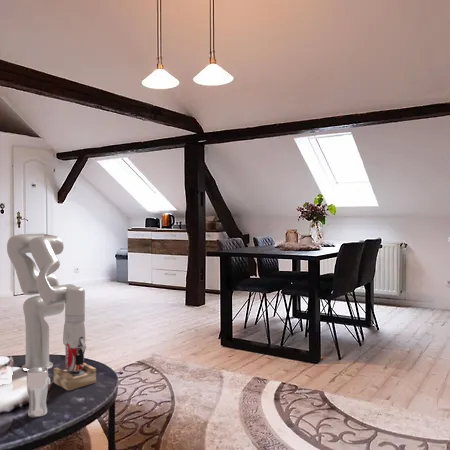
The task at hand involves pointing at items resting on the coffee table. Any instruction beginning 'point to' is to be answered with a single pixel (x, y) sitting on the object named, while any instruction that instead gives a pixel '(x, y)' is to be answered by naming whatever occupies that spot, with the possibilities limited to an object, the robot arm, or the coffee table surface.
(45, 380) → the beer glass
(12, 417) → the coffee table surface
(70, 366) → the soda can
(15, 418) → the coffee table surface
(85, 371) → the pedestal
